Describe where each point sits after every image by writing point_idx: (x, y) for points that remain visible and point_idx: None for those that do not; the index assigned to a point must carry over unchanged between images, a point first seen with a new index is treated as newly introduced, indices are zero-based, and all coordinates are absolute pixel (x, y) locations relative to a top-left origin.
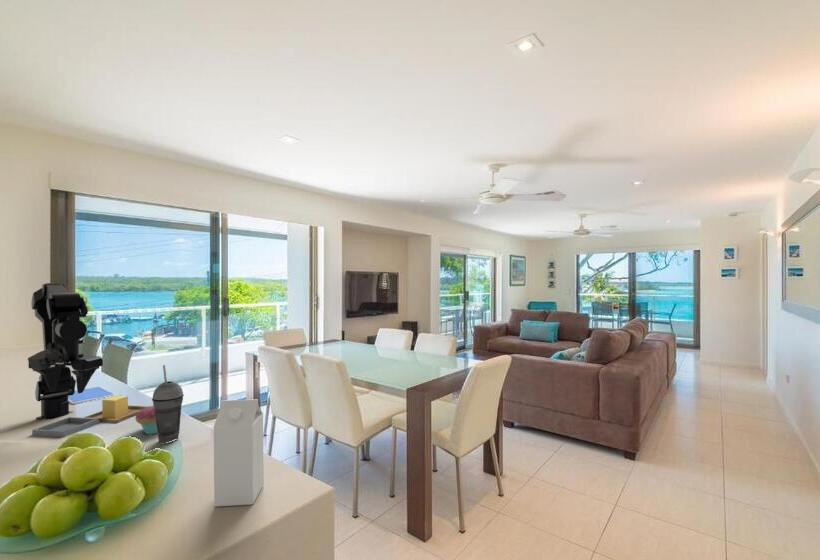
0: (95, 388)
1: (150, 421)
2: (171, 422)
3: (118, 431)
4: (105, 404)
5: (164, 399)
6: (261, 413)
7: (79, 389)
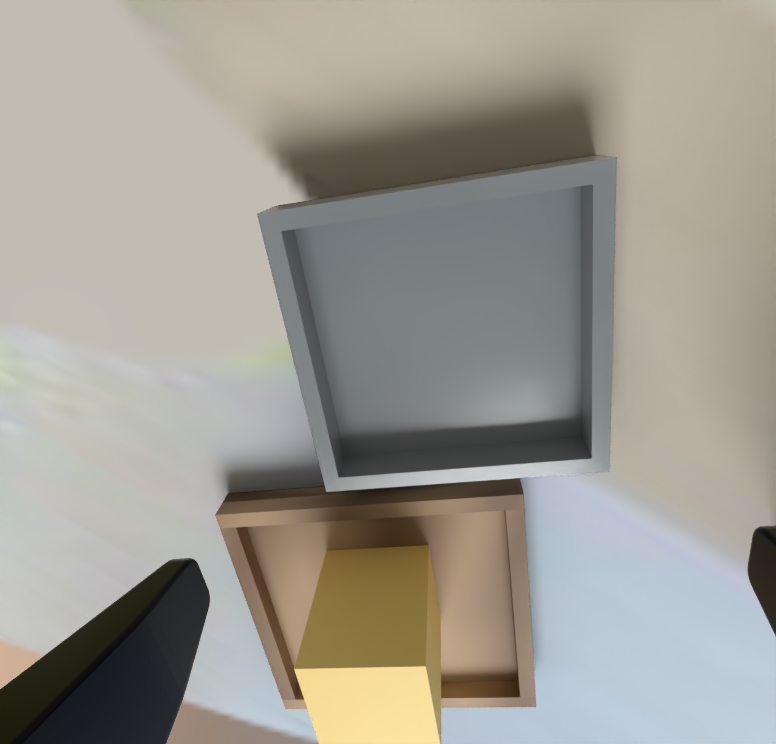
0: None
1: None
2: None
3: (91, 415)
4: (395, 631)
5: None
6: None
7: (109, 607)
